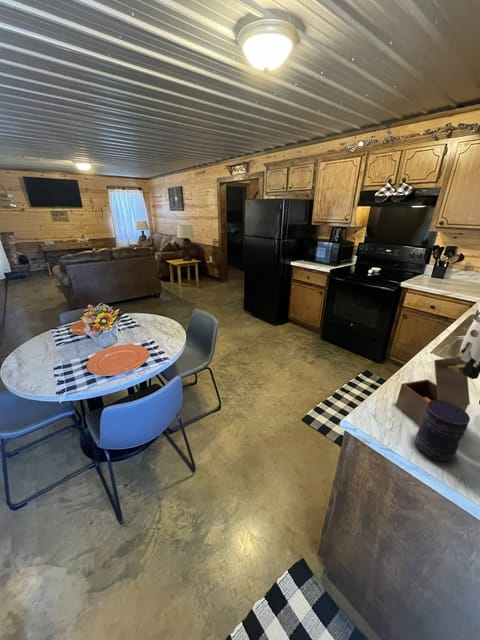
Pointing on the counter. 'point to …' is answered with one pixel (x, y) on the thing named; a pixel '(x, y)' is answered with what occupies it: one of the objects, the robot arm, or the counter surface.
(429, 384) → the chest
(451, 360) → the lid
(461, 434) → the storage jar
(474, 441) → the counter surface
